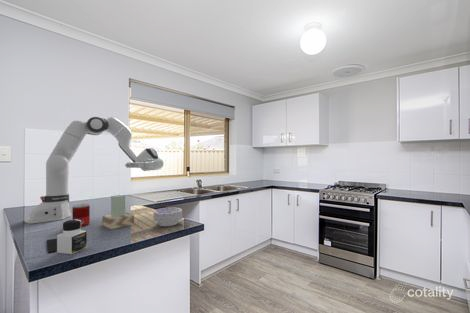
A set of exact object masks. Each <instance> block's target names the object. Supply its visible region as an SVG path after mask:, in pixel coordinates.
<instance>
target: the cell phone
mask: <svg viewBox="0 0 470 313" xmlns="http://www.w3.org/2000/svg"><path fill="white" fill-rule="evenodd" d="M46 247H47V253H48V254H53V253H57V237H55V238H51V239H47V240H46Z"/></svg>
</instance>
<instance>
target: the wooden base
mask: <svg viewBox="0 0 470 313" xmlns="http://www.w3.org/2000/svg"><path fill="white" fill-rule="evenodd" d="M134 215H135V214H131V213H129V212H126V211H125V215H123V216H120V217H112V216H111V214H105V215H102V226H104V227H106V228H108V229H110V230H114V229H119V228H120V229H121V228H124V227H128V226H133V225H135V216H134Z"/></svg>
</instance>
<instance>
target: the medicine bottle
mask: <svg viewBox="0 0 470 313" xmlns="http://www.w3.org/2000/svg"><path fill="white" fill-rule="evenodd" d="M87 236H88V234H87V230H82V227H81V221H80V220H77V219H74V220H73V219H69V220H66V221H64V222H63V223H62V233H59V234H57V235H56V238H57V252H56V253H57V254H63V255H64V254H65V255H74V254H75V253H78V252H81V251H83V250H85V249H87V246H88V245H87V244H88V243H87V240H88V239H87V238H88V237H87Z"/></svg>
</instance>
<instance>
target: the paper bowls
mask: <svg viewBox="0 0 470 313" xmlns="http://www.w3.org/2000/svg"><path fill="white" fill-rule="evenodd" d="M182 219H183V209H182V208H180V207H173V206H171V207H170V206H169V207H162V208H157V209H155V210H154V211H153V221H154V222H156V223H157V224H158V225H159V226H160V227H173V226H176V225H177V224H179V222H180V221H181V220H182Z"/></svg>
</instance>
